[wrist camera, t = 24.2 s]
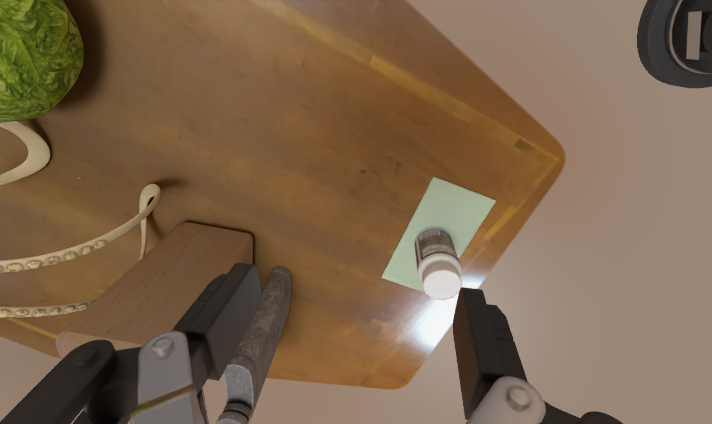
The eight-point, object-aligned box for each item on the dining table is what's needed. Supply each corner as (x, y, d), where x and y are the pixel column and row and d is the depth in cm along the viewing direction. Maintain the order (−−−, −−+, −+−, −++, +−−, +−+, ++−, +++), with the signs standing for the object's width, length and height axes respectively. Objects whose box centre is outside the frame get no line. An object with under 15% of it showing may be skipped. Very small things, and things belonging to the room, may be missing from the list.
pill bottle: (442, 261, 44) (453, 308, 36) (408, 250, 43) (412, 295, 36) (458, 232, 41) (473, 276, 34) (423, 221, 41) (430, 262, 34)
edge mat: (433, 175, 39) (433, 176, 38) (495, 199, 39) (496, 200, 39) (381, 276, 46) (381, 277, 46) (434, 294, 47) (434, 296, 47)
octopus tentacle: (11, 174, 43) (-245, 270, 26) (11, 90, 38) (-311, 139, 21) (170, 246, 47) (39, 374, 29) (191, 178, 41) (46, 284, 24)
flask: (298, 270, 47) (251, 391, 31) (284, 339, 54) (241, 466, 38) (272, 264, 47) (213, 382, 31) (262, 333, 54) (209, 459, 38)
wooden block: (188, 276, 49) (76, 411, 32) (181, 217, 44) (45, 338, 27) (254, 288, 49) (180, 430, 32) (255, 231, 44) (168, 361, 27)
